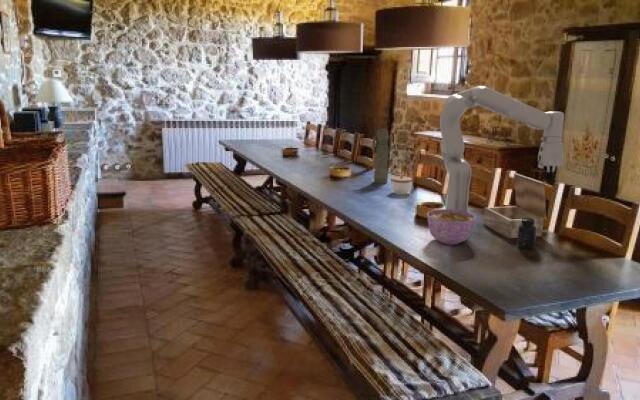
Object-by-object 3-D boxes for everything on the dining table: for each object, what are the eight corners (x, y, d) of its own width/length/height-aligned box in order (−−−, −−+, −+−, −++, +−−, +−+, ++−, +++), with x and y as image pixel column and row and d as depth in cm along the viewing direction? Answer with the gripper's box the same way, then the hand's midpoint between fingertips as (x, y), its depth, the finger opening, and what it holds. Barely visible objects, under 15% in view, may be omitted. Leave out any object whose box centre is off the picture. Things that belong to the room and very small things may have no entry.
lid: (541, 183, 214) (544, 182, 214) (513, 173, 235) (516, 173, 235) (543, 218, 218) (546, 217, 219) (516, 206, 239) (518, 205, 240)
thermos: (392, 183, 329) (394, 129, 321) (376, 184, 325) (377, 130, 316) (385, 180, 337) (387, 128, 329) (369, 181, 333) (371, 128, 324)
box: (507, 238, 218) (509, 220, 216) (483, 223, 239) (484, 207, 237) (541, 236, 220) (543, 218, 218) (514, 222, 241) (516, 206, 239)
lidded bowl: (413, 195, 295) (414, 177, 292) (391, 195, 295) (392, 177, 292) (409, 191, 307) (410, 173, 304) (389, 190, 307) (389, 173, 304)
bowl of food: (438, 231, 227) (439, 206, 224) (481, 240, 215) (483, 214, 212) (416, 242, 212) (418, 216, 209) (461, 252, 200) (463, 224, 197)
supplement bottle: (519, 243, 211) (522, 215, 208) (536, 246, 207) (539, 218, 204) (514, 247, 206) (517, 219, 203) (531, 251, 202) (534, 222, 199)
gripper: (541, 141, 217) (537, 182, 222) (572, 140, 220) (568, 181, 224) (531, 139, 225) (528, 179, 229) (562, 138, 227) (557, 178, 231)
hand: (548, 180), depth 227 cm, fingers closed
